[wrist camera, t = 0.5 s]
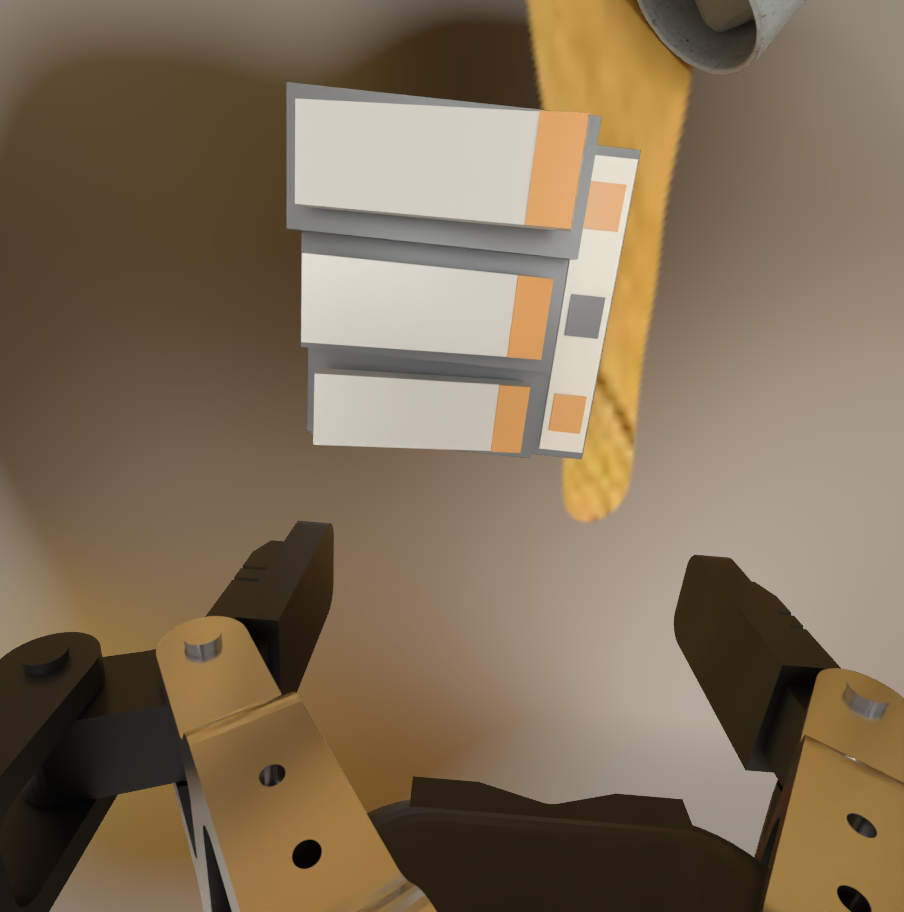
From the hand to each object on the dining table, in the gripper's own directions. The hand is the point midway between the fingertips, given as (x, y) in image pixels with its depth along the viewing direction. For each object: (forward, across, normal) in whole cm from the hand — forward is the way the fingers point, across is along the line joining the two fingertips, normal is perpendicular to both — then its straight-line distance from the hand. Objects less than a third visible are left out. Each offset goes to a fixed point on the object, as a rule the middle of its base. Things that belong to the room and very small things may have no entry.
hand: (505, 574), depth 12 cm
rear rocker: (+20, +4, +2) cm, 20 cm away
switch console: (+25, +2, -4) cm, 25 cm away
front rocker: (+15, +3, -10) cm, 18 cm away
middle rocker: (+18, +3, -4) cm, 18 cm away
